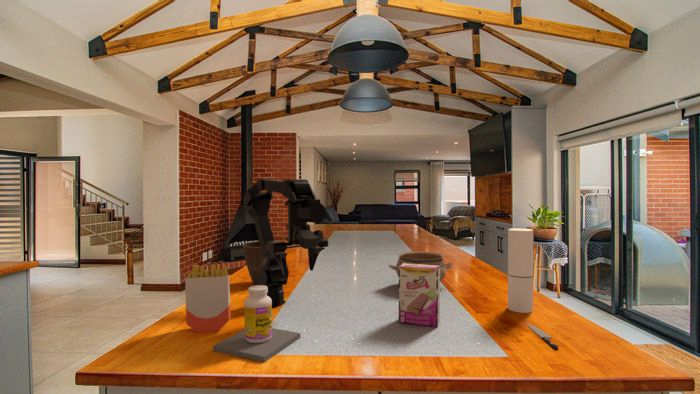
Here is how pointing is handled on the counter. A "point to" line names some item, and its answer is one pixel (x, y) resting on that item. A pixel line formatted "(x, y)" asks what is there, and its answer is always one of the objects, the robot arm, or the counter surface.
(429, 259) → the cooking pot
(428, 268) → the candy bar box
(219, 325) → the french fries container
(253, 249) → the plant pot
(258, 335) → the supplement bottle
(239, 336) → the charcoal mat
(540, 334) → the chef's knife
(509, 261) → the cylindrical container
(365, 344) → the counter surface
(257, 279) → the robot arm
